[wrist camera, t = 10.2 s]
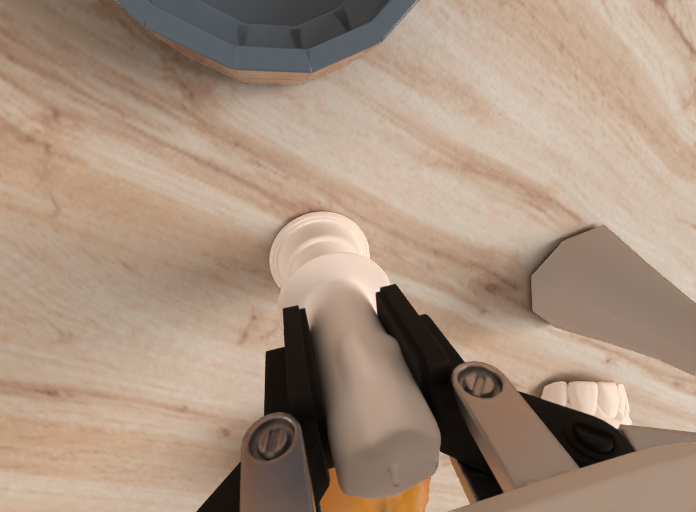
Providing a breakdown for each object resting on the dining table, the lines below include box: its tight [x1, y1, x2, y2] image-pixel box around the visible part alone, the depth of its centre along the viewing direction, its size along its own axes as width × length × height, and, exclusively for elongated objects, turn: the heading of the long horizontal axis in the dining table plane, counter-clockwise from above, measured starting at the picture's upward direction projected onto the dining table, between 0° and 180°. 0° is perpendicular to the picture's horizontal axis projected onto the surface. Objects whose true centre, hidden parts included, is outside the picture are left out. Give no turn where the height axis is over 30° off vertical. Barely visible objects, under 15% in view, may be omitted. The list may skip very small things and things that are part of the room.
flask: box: [531, 225, 696, 376], centre depth 17 cm, size 7×7×10 cm
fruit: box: [320, 467, 431, 512], centre depth 21 cm, size 8×8×8 cm
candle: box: [269, 212, 441, 499], centre depth 12 cm, size 5×5×12 cm
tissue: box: [541, 381, 632, 429], centre depth 25 cm, size 6×8×4 cm
